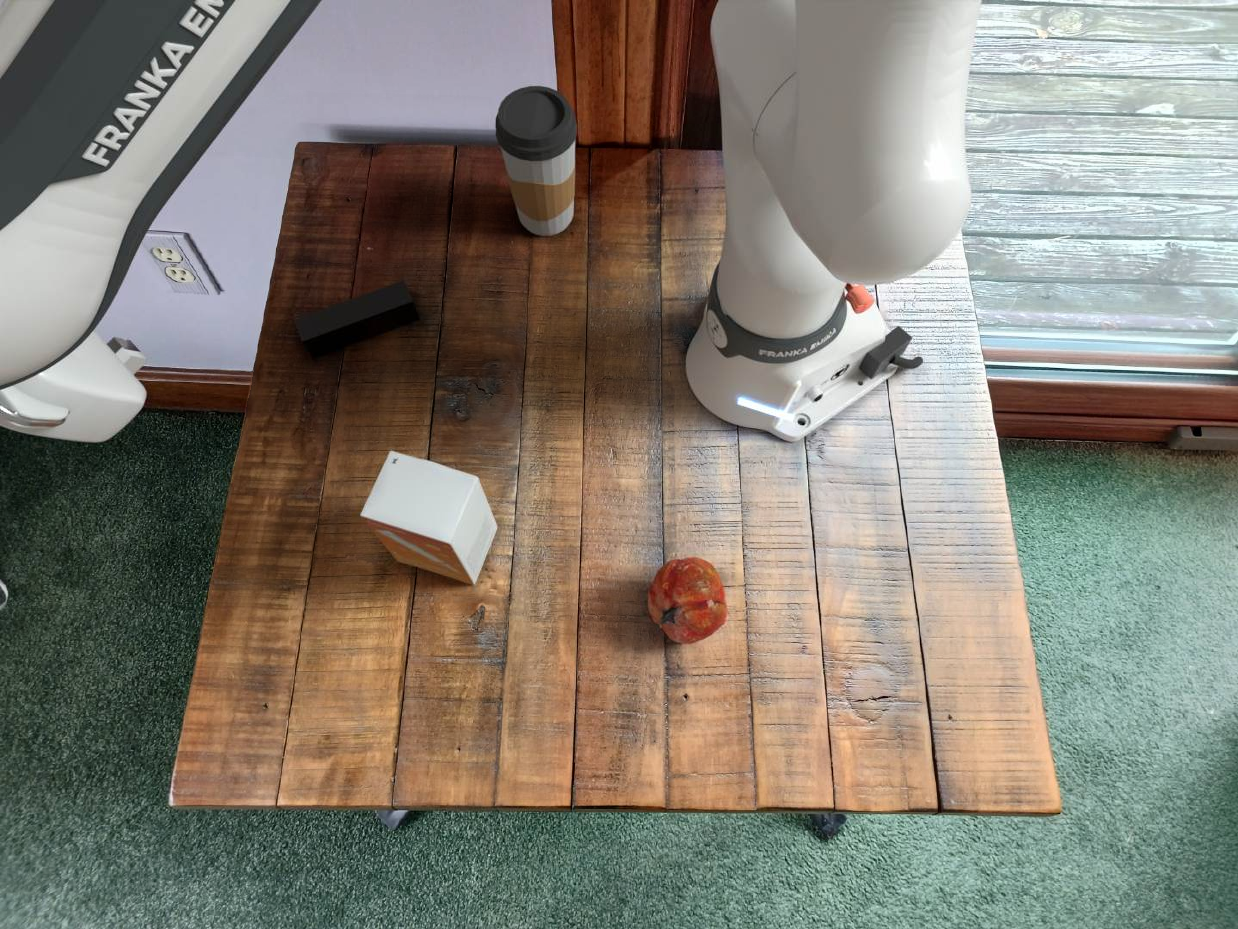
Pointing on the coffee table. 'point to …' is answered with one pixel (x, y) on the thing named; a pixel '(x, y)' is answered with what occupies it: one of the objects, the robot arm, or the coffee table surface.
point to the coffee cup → (539, 156)
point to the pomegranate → (687, 600)
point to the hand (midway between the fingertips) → (81, 301)
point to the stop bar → (357, 319)
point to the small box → (431, 516)
